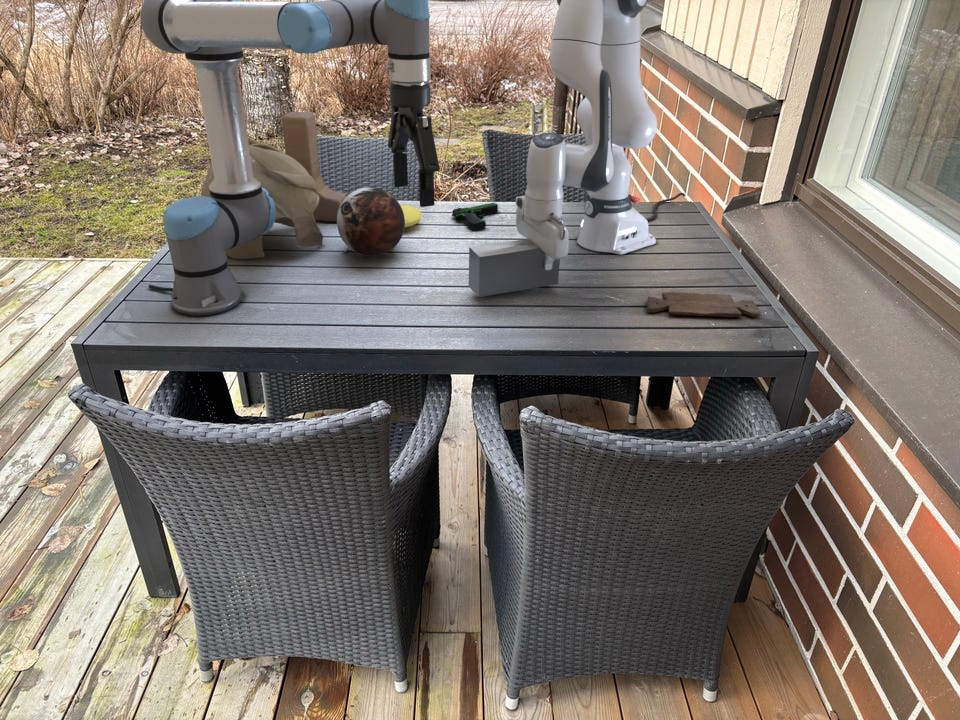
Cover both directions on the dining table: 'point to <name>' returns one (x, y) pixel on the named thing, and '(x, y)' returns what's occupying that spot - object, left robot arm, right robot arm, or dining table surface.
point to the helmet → (280, 197)
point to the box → (509, 268)
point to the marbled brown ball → (370, 221)
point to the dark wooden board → (702, 305)
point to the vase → (411, 215)
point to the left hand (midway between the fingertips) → (413, 195)
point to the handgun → (475, 215)
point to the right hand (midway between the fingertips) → (539, 262)
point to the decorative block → (310, 160)
